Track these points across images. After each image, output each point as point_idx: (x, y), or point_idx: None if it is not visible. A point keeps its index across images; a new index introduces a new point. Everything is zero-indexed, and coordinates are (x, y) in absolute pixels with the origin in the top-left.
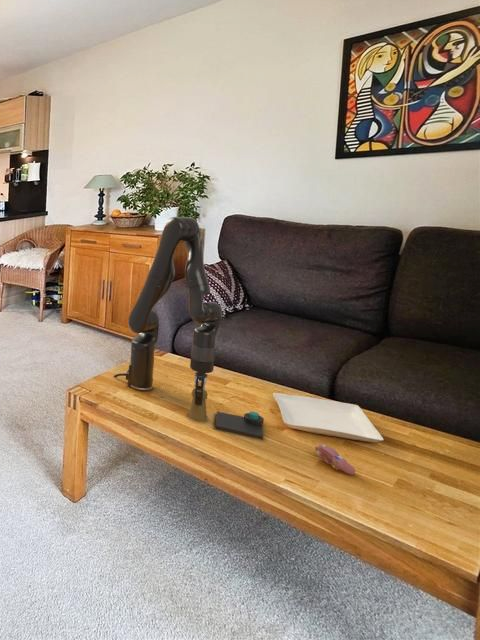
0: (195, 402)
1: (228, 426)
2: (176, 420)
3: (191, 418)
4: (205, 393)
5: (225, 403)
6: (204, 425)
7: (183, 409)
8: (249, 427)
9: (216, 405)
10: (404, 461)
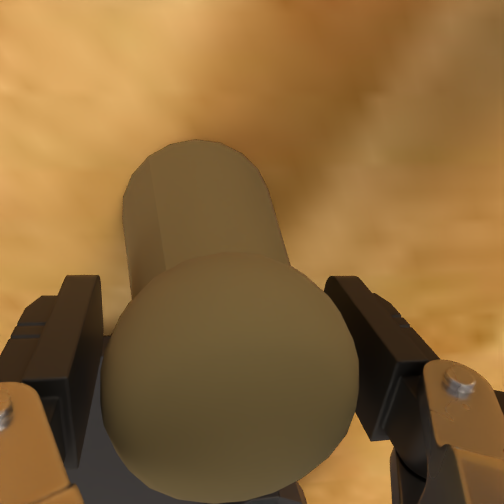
0: (63, 289)
1: (95, 422)
2: (26, 10)
3: (141, 167)
4: (174, 494)
5: (492, 358)
6: (81, 267)
7: (330, 91)
8: (155, 501)
9: (457, 319)
10: None
